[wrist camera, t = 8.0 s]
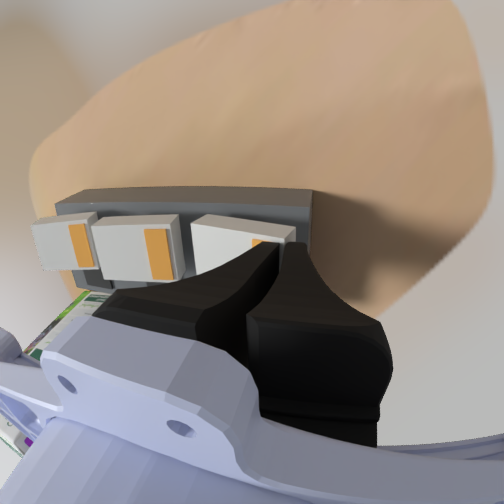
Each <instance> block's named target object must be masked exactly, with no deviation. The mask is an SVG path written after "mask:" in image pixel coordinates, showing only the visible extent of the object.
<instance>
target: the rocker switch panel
mask: <svg viewBox="0 0 504 504" xmlns="http://www.w3.org/2000/svg"><path fill="white" fill-rule="evenodd" d="M312 197H313V190H307V189H288V188H262V187H216V186H178V187H132V188H108V189H89V190H83V191H81V192H78V193H76V194H74V195H72V196H70V197H68V198H66V199H64V200H61V201H59V202H57V203H55V208H56V212H57V216H60V215H68V214H77V213H86V212H96V211H97V216H98V220H100V219H101V218H103V217H114V216H138V215H170V214H179V222H180V230H181V238H182V246H183V253H184V260H185V267H186V271H185V273H184V274H183V276H182V278H181V280H182V279H185V278H189V277H192V276H196V275H197V273H196V265H195V257H194V249H193V241H192V232H191V223H192V222H194V221H195V220H197V219H199V218H201V217H203V216H205V215H206V214H212V215H219V216H226V217H233V218H240V219H247V220H254V221H261V222H267V223H274V224H280V225H287V226H293V227H296V242H303V243H305V244H306V245H307V250H308V254H309V256H310V242H311V222H312ZM72 273H73V276H74V280H75V283H76V286H77V287H79V288H83V289H88V290H93V291H98V292H103V293H108V294H113V293H114V292H115V291H116V290H117V289H126V288H137V287H147V286H154V285H160V284H165V282H143V281H123V280H105V279H104V277H103V274H102V270H101V267H100V269H91V270H72Z"/></svg>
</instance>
